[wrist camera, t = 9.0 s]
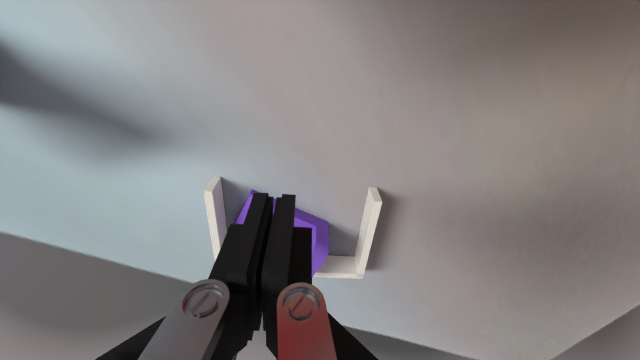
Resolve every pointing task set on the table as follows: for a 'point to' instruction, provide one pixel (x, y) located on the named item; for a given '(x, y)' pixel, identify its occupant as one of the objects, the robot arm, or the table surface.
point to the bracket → (302, 220)
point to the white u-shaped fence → (332, 264)
